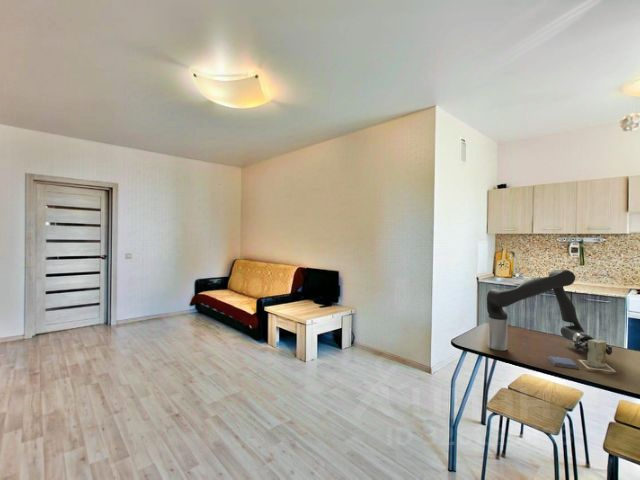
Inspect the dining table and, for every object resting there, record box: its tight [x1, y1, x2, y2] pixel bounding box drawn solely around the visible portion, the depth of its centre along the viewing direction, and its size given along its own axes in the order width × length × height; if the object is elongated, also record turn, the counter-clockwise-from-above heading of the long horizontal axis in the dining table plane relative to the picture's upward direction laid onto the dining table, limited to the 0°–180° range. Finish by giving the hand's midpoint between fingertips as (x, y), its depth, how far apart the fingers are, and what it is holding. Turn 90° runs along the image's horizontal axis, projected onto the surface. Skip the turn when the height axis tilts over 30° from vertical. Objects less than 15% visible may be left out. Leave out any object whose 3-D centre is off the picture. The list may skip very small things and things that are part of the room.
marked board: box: [575, 358, 619, 376], centre depth 151 cm, size 12×12×1 cm
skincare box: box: [586, 338, 607, 368], centre depth 151 cm, size 6×4×12 cm
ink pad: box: [547, 355, 580, 370], centre depth 156 cm, size 10×10×2 cm
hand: (598, 351), depth 149 cm, fingers open, 8 cm apart
